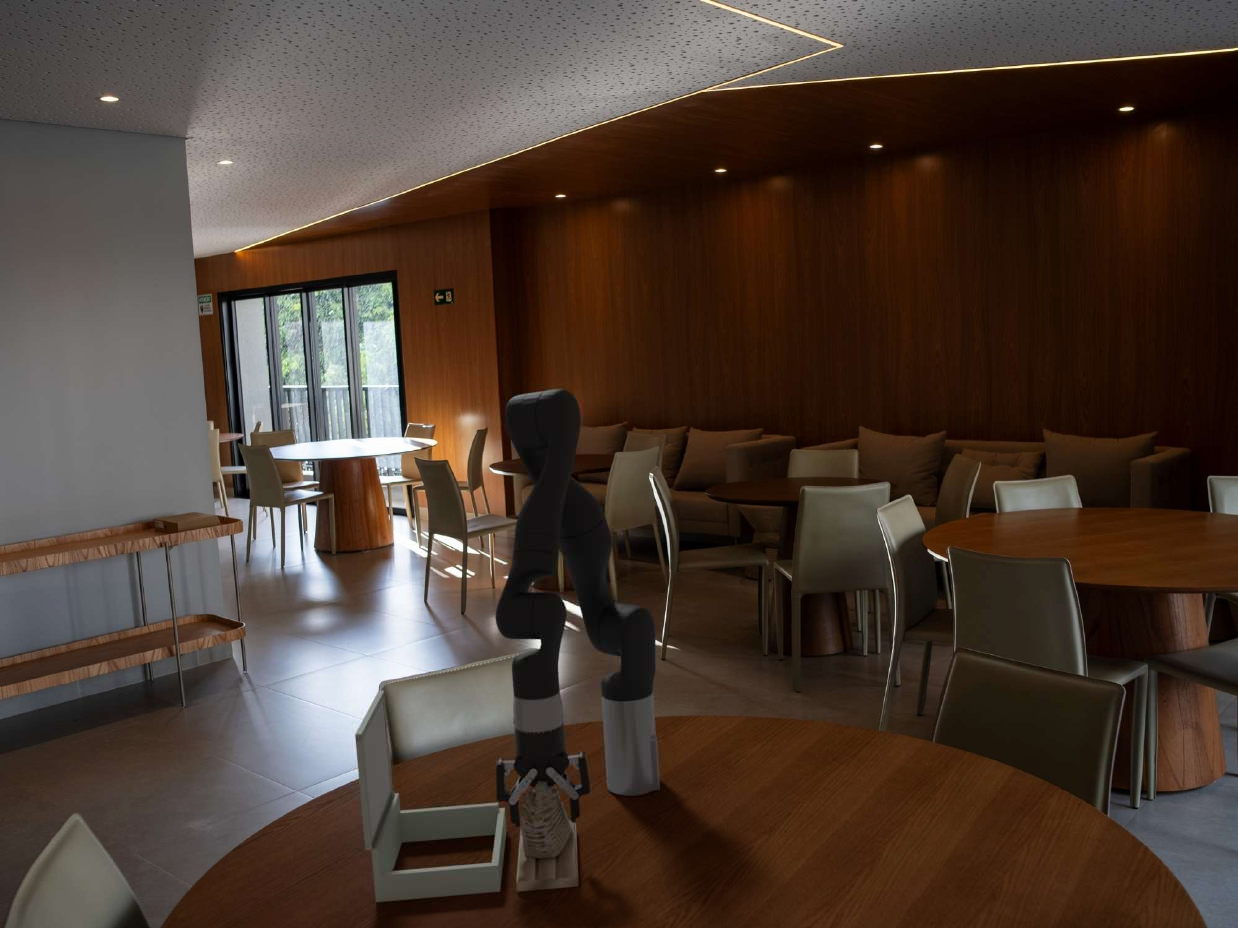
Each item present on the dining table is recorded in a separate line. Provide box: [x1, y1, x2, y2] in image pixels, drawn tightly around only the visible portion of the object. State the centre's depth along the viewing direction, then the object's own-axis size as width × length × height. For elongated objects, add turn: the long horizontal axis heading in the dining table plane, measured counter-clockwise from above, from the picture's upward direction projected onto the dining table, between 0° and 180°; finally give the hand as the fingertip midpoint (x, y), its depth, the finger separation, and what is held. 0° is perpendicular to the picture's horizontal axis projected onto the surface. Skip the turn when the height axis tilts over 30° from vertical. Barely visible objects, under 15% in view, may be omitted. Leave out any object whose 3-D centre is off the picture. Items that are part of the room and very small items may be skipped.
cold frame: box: [354, 690, 507, 903], centre depth 154 cm, size 19×19×25 cm
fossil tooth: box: [520, 781, 572, 859], centre depth 155 cm, size 12×6×15 cm
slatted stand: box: [516, 819, 580, 892], centre depth 155 cm, size 9×17×2 cm, turn 3°
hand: (545, 822), depth 155 cm, fingers open, 8 cm apart
